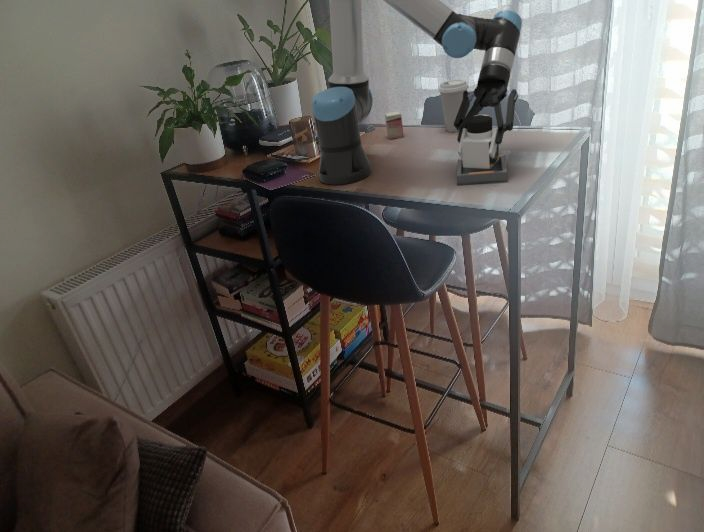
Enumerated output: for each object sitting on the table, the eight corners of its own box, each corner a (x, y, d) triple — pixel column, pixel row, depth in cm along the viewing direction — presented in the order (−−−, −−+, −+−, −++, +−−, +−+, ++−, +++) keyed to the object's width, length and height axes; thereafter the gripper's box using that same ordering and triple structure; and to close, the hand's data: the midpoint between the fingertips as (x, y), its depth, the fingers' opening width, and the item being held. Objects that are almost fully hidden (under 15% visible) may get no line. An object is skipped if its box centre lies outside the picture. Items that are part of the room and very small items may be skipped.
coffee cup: (444, 125, 178) (441, 80, 171) (472, 124, 175) (470, 77, 167) (438, 134, 171) (434, 87, 163) (467, 132, 167) (465, 84, 160)
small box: (389, 139, 174) (386, 116, 170) (387, 136, 178) (384, 113, 174) (404, 137, 174) (401, 113, 170) (401, 133, 178) (399, 110, 174)
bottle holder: (457, 185, 130) (456, 175, 129) (458, 168, 140) (458, 158, 139) (507, 181, 127) (507, 171, 126) (505, 164, 137) (504, 154, 136)
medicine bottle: (490, 169, 128) (488, 120, 122) (462, 168, 132) (459, 121, 126) (499, 159, 133) (498, 112, 127) (472, 158, 137) (470, 112, 131)
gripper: (539, 78, 130) (519, 163, 126) (462, 81, 140) (442, 160, 137) (533, 60, 123) (513, 149, 120) (453, 65, 134) (432, 147, 130)
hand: (475, 155), depth 128 cm, fingers closed on medicine bottle, 7 cm apart
